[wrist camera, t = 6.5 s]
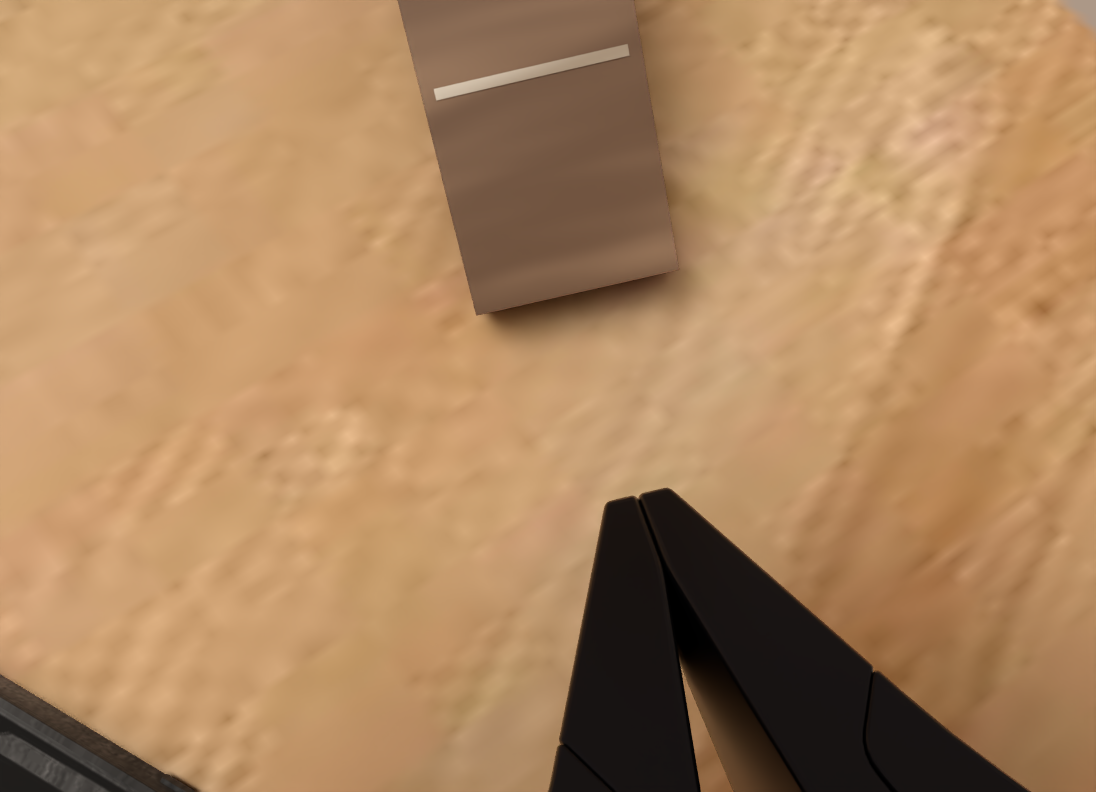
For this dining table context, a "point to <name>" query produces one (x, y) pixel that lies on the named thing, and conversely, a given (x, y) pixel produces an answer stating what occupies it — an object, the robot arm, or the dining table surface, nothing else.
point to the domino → (543, 144)
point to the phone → (65, 752)
